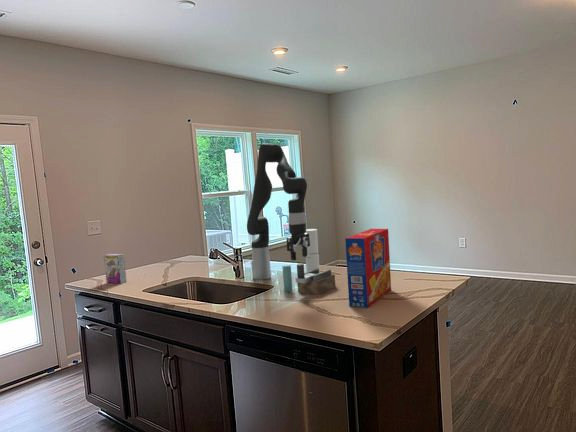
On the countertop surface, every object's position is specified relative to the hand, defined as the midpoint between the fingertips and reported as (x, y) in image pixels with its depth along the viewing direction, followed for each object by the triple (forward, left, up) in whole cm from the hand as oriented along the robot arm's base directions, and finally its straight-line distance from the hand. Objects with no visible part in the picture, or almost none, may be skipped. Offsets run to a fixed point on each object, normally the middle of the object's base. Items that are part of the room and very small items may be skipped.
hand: (299, 258), depth 199 cm
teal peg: (-11, +4, -17) cm, 21 cm away
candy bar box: (-117, -21, -17) cm, 120 cm away
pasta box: (+30, +9, -17) cm, 36 cm away
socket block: (0, +12, -17) cm, 21 cm away
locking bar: (0, +4, -11) cm, 12 cm away
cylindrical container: (-17, +34, -17) cm, 42 cm away
